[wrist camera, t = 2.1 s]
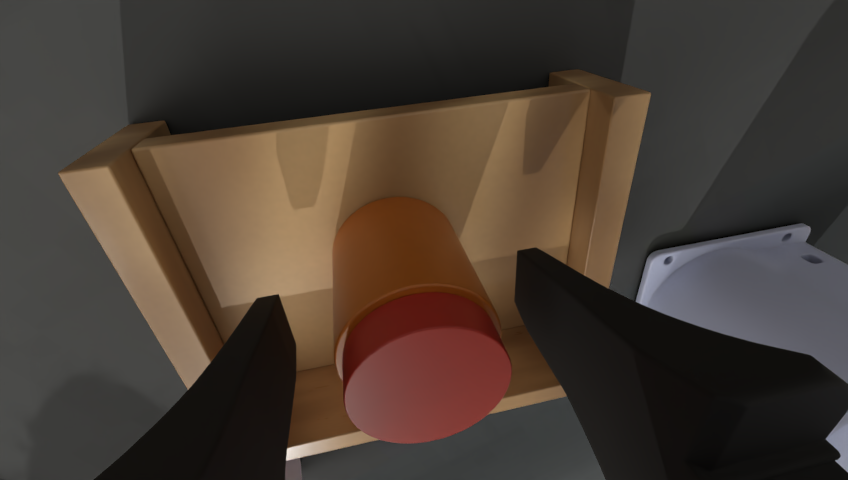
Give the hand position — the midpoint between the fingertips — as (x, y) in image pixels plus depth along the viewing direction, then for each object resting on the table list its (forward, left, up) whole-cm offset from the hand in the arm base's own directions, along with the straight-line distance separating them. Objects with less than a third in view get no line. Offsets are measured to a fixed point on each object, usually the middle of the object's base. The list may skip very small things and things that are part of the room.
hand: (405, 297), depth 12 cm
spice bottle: (0, 0, -3) cm, 3 cm away
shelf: (0, +1, -6) cm, 6 cm away
